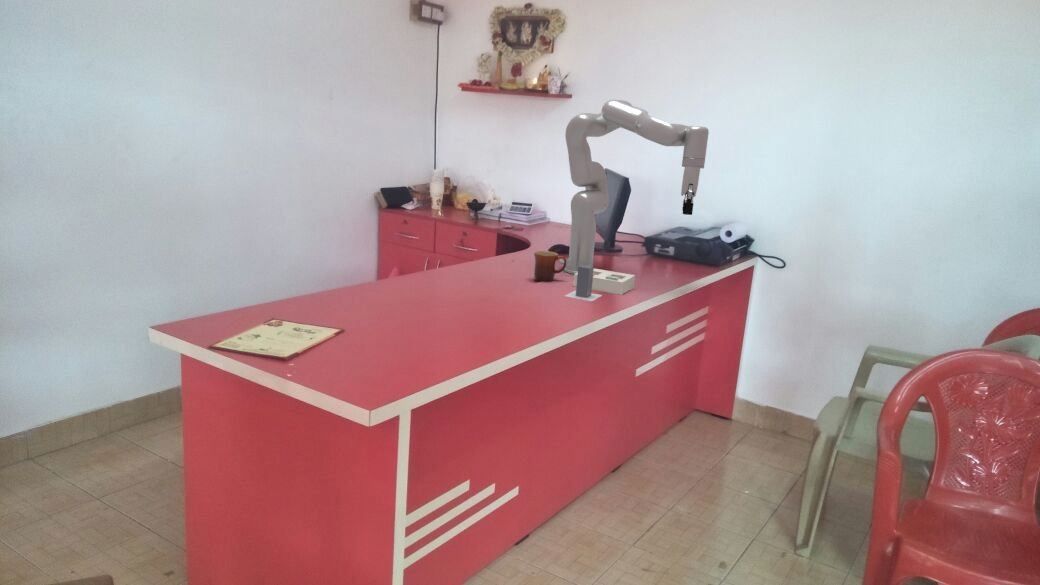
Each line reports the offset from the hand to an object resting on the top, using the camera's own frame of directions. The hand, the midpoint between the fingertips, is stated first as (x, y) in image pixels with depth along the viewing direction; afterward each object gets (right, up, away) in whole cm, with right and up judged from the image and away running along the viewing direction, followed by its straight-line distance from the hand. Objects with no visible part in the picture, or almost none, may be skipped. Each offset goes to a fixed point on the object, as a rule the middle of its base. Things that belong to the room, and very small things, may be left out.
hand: (687, 212), depth 248 cm
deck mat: (-37, -29, -9) cm, 48 cm away
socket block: (-28, -26, +6) cm, 39 cm away
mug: (-48, -24, +11) cm, 55 cm away
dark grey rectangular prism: (-37, -29, -9) cm, 48 cm away
